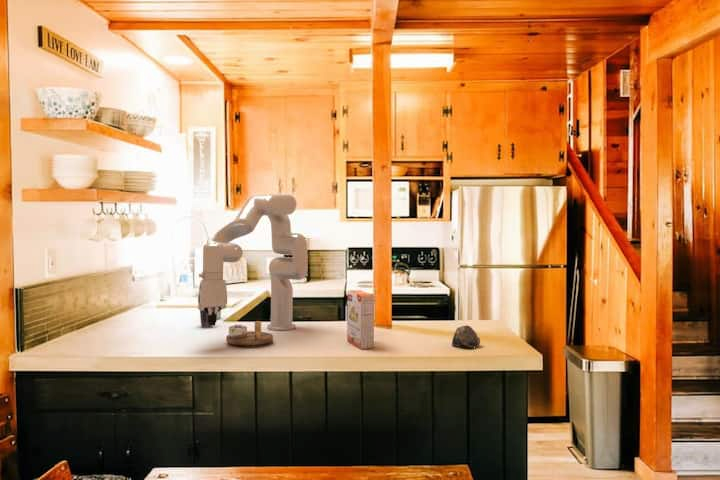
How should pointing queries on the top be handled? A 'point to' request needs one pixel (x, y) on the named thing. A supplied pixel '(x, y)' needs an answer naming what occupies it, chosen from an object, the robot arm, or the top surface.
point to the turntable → (253, 337)
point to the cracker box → (360, 319)
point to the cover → (237, 332)
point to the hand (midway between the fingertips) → (211, 324)
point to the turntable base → (250, 345)
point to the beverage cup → (204, 319)
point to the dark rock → (466, 337)
